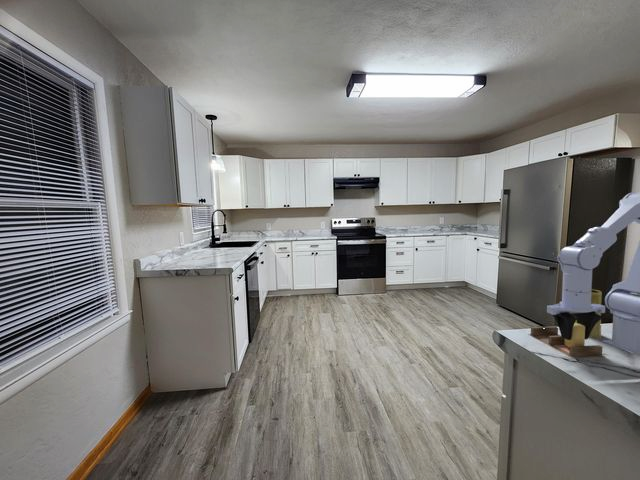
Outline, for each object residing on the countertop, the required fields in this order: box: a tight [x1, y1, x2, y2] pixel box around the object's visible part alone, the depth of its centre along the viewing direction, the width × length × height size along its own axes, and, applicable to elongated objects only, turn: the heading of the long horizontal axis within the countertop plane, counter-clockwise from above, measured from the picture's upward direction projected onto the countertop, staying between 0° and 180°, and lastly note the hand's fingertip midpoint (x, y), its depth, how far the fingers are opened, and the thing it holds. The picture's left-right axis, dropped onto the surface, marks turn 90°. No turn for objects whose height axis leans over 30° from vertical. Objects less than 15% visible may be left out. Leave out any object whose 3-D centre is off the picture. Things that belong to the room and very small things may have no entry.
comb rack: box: [527, 325, 606, 359], centre depth 77 cm, size 9×15×3 cm, turn 1°
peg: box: [564, 323, 586, 347], centre depth 73 cm, size 4×4×6 cm
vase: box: [575, 288, 603, 339], centre depth 83 cm, size 6×6×14 cm
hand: (574, 338), depth 73 cm, fingers open, 4 cm apart
